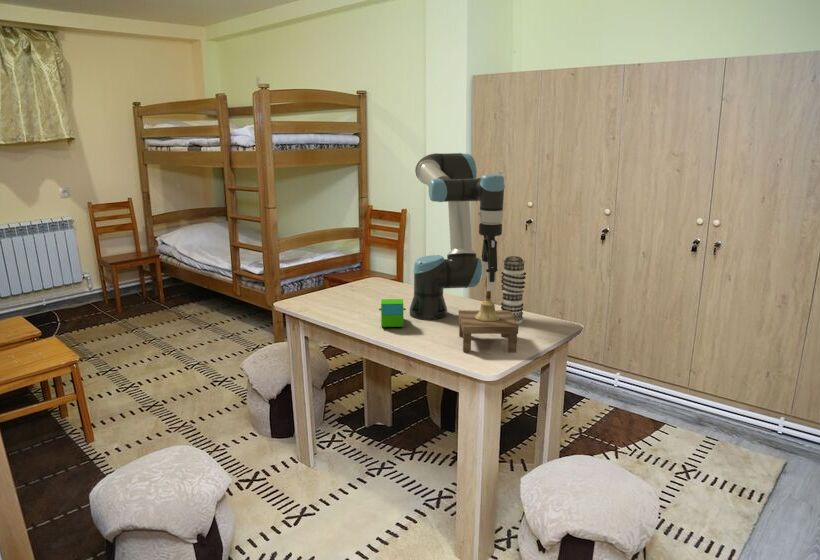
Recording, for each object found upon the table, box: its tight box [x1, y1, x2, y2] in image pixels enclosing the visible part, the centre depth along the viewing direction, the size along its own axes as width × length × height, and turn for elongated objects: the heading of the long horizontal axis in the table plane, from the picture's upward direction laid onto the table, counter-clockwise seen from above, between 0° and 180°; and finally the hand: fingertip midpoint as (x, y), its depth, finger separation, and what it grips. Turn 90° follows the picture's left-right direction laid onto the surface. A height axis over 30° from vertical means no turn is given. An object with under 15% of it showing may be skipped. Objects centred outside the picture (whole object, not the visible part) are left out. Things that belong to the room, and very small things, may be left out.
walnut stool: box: [458, 309, 519, 353], centre depth 194 cm, size 18×18×9 cm
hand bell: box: [475, 277, 499, 322], centre depth 191 cm, size 8×8×16 cm
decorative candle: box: [500, 255, 527, 325], centre depth 216 cm, size 9×9×25 cm
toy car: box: [378, 298, 407, 329], centre depth 214 cm, size 10×13×10 cm
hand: (488, 285), depth 190 cm, fingers open, 13 cm apart
